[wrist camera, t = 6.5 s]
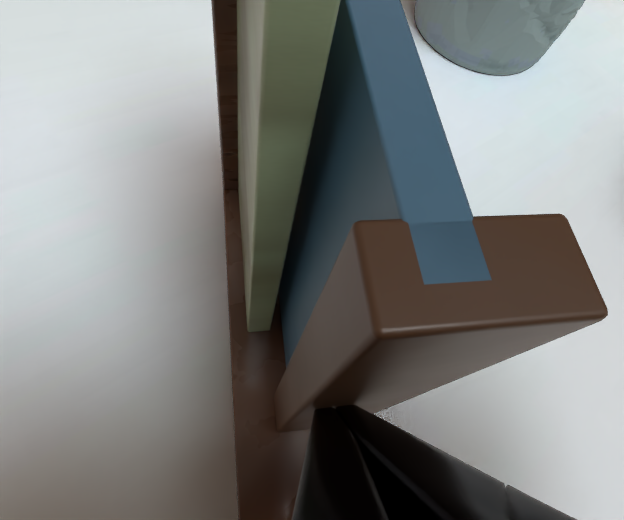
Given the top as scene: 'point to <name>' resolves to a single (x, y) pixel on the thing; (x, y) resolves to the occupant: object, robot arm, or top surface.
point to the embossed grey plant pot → (494, 31)
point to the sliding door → (406, 244)
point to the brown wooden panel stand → (264, 217)
